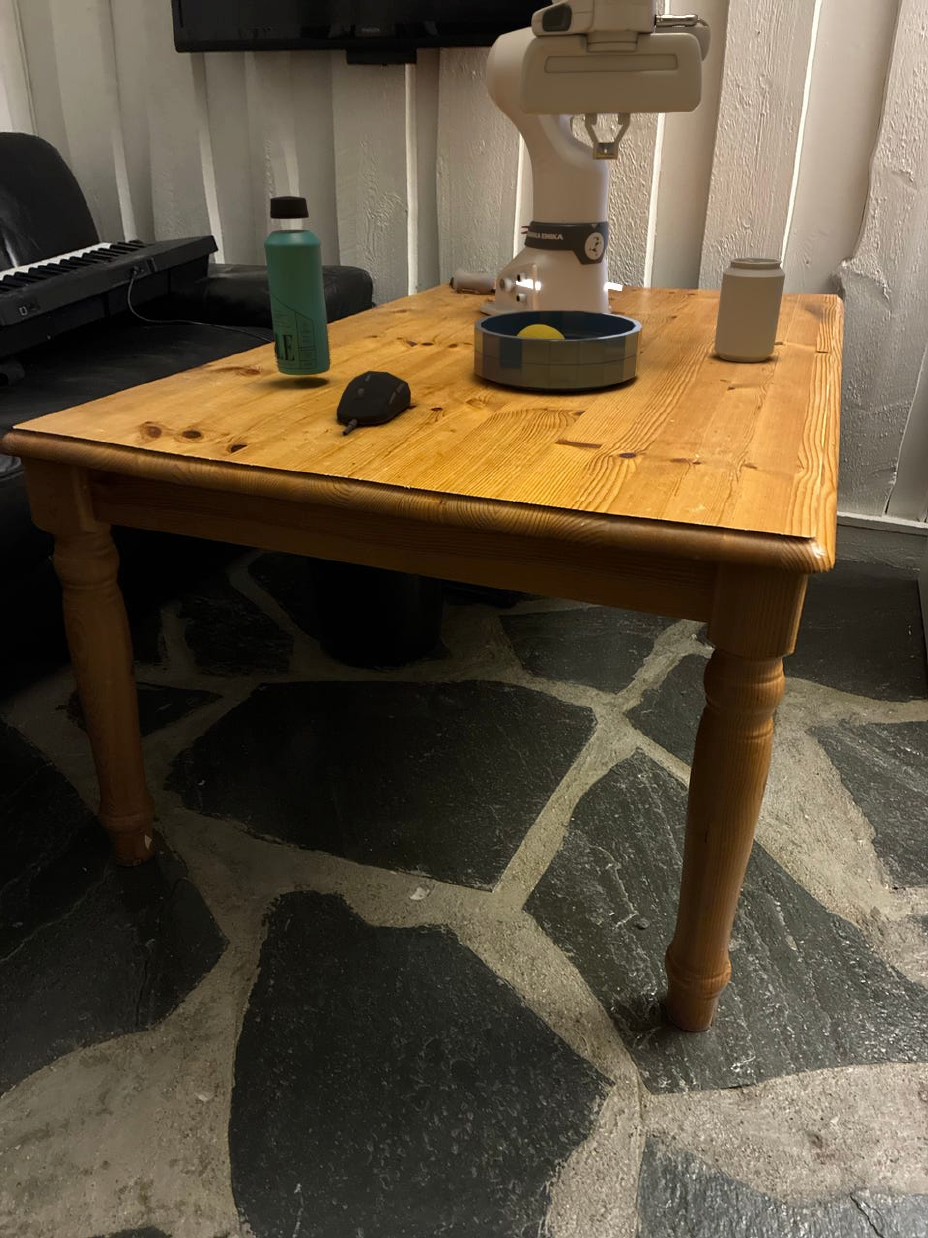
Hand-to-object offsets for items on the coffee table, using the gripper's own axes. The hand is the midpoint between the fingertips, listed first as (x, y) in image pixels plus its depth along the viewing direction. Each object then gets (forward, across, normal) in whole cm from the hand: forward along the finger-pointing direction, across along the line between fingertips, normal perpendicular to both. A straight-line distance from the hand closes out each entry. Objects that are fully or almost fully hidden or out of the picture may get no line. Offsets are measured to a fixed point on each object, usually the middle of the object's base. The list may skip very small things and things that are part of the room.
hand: (605, 159), depth 104 cm
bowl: (+23, +4, +7) cm, 25 cm away
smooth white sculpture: (+23, +24, -57) cm, 66 cm away
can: (+23, -19, -6) cm, 31 cm away
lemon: (+20, +9, +7) cm, 23 cm away
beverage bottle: (+23, +33, +15) cm, 43 cm away
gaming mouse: (+23, +22, +28) cm, 42 cm away
